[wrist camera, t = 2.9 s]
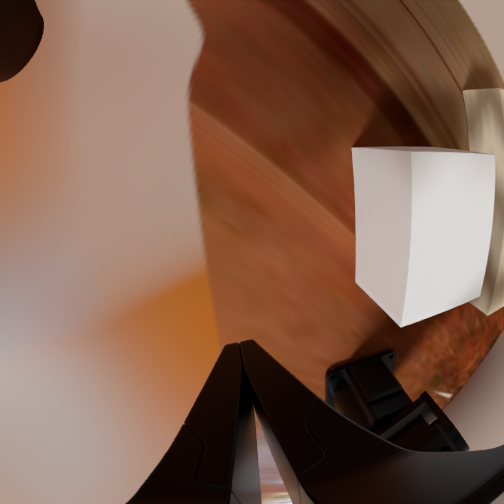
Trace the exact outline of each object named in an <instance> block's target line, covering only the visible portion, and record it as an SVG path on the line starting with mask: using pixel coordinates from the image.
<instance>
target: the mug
mask: <svg viewBox="0 0 504 504" xmlns="http://www.w3.org/2000/svg"><path fill="white" fill-rule="evenodd" d="M43 30H44V21H43V17H42V16H41V14H40V12H39V10H38V7H37V5H36V2H35V0H0V82H3V81H6V80H9V79H10V78H12V77H14V76H15V75H16V74H17V73H18V72H20V71H21V70H22V69H23V68H24V67H25V66H26V65H27V63H28V62H29V61H30V59H31V58H32V57H33V55H34V53H35V52H36V50H37V48H38V46H39V44H40V41H41V39H42V35H43Z"/></svg>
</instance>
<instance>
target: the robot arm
mask: <svg viewBox="0 0 504 504" xmlns="http://www.w3.org/2000/svg"><path fill="white" fill-rule="evenodd" d="M395 357H396V353H395V352H394V350H392V349H391V350H388V351H385V352H382V353H380V354H377V355H374V356H372V357H369V358H366V359H363V360H360V361H357V362H354V363H351V364H348V365H345V366H342V367H339V368H336V369H332V370H330V371H328V372H327V373H326V375H325V401H323V400H322V399H321V398H319V397H318V396H317V395H316V394H315V393H314V392H312V391H311V390H310V389H309V388H308V387H306V386H305V385H304V384H303V383H302V382H301V381H299V380H298V379H297V378H296V377H295V376H294V375H292V374H291V373H290V372H289V371H288V370H287V369H286V368H284V367H283V366H282V365H281V364H280V363H279V362H278V361H276V360H275V359H274V358H273V357H272V356H271V355H270V354H269V353H267V352H266V351H265V350H264V349H263V348H262V347H261V346H260V345H259V344H258V343H256V342H255V341H254V340H252V339H251V340H246V341H241V342H240V344H239V343H231V344H227V345H225V346H224V348H223V350H222V352H221V354H220V355H219V357H218V359H217V361H216V363H215V365H214V367H213V369H212V371H211V373H210V375H209V377H208V378H207V380H206V382H205V384H204V386H203V388H202V390H201V392H200V393H199V396H198V397H197V399H196V401H195V403H194V405H193V407H192V408H191V410H190V412H189V414H188V416H187V418H186V420H185V422H184V424H183V425H182V427H181V429H180V431H179V432H178V434H177V436H176V438H175V439H174V441H173V443H172V444H171V446H170V448H169V449H168V451H167V452H166V453H165V455H164V456H163V458H162V459H161V460H160V462H159V463H158V465H157V466H156V467H155V469H154V470H153V471H152V473H151V474H150V475H149V477H148V478H147V479H146V480H145V482H144V483H143V484H142V485H141V487H140V488H139V489H138V491H137V492H136V493H135V494H134V495H133V497H132V498H131V499H130V500H129V501H128V502H127V503H126V504H262V502H261V490H260V478H259V465H258V452H257V439H256V426H255V414H254V409H255V412H256V415H257V418H258V420H259V423H260V426H261V428H262V431H263V433H264V436H265V438H266V441H267V443H268V446H269V448H270V451H271V453H272V456H273V458H274V461H275V463H276V465H277V468H278V470H279V473H280V475H281V477H282V480H283V482H284V484H285V487H286V489H287V491H288V493H289V496H290V498H291V500H292V503H293V504H504V445H502V446H499V447H496V448H493V449H487V450H477V451H468V450H469V446H468V445H467V443H466V442H465V440H464V439H463V437H462V436H461V434H460V433H459V432H458V430H457V429H456V427H455V426H454V425H453V423H452V422H451V421H450V420H449V418H448V417H447V416H446V415H445V413H444V412H443V411H442V410H441V409H440V407H439V406H438V405H437V404H436V403H435V401H434V400H433V399H432V398H431V397H430V395H429V394H428V393H427V392H426V391H425V392H423V393H422V394H421V395H420V397H419V398H418V399H417V400H415V401H414V402H412V400H411V399H410V397H409V396H408V395H407V393H406V392H405V391H404V389H403V388H402V385H401V384H400V383H399V381H398V380H397V379H396V377H395V376H394V375H393V368H394V363H395ZM253 405H254V407H253ZM434 418H436V420H435V421H433V422H432V423H431V424H430V425H429V424H428V423H430V422H431V421H432V420H433V419H434Z"/></svg>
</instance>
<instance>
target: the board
mask: <svg viewBox="0 0 504 504" xmlns="http://www.w3.org/2000/svg"><path fill="white" fill-rule="evenodd" d="M462 91H463V97H464V103H465V110H466V118H467V127H468V138H469V151H473V152H480V153H487V154H493V155H495V197H494V212H493V222H492V232H491V240H490V247H489V253H488V259H487V265H486V270H485V276H484V280H483V285H482V290H481V294H480V297H477V298H475V299H473V300H471V301H469V302H470V303H471V304H473V305H474V306H475V307H477V308H478V309H479V310H481V311H482V312H483V313H485V314H486V315H487V316H488V315H490V314H491V313H493V312H495V311H496V310H498V309H500V308H501V307H503V306H504V89H501V88H489V89H473V90H462Z"/></svg>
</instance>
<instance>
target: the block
mask: <svg viewBox="0 0 504 504" xmlns="http://www.w3.org/2000/svg"><path fill="white" fill-rule="evenodd" d="M352 157H353V171H354V188H355V213H356V279H355V282H356V283H357V284H358V285H359V286H360V287H361V288H362V289H363V290H364V291H365V292H366V293H367V294H368V295H369V296H370V297H371V298H372V299H373V300H374V301H375V302H376V303H377V304H378V305H379V306H380V307H381V308H382V309H383V310H384V311H385V312H386V313H387V314H388V315H389V316H390V317H391V318H392V319H393V320H394V321H395V322H396V323H397V324H398V325H399V327H400V328H401V327H404V326H407V325H410V324H412V323H415V322H418V321H421V320H423V319H426V318H429V317H431V316H434V315H437V314H439V313H442V312H444V311H447V310H449V309H452V308H454V307H456V306H459V305H461V304H464V303H466V302H468V301H471V300H473V299H475V298H477V297H480V294H481V290H482V285H483V280H484V276H485V270H486V265H487V259H488V253H489V247H490V240H491V232H492V222H493V212H494V197H495V155H493V154H487V153H480V152H473V151H465V150H457V149H449V148H439V147H354V148H352Z"/></svg>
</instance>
